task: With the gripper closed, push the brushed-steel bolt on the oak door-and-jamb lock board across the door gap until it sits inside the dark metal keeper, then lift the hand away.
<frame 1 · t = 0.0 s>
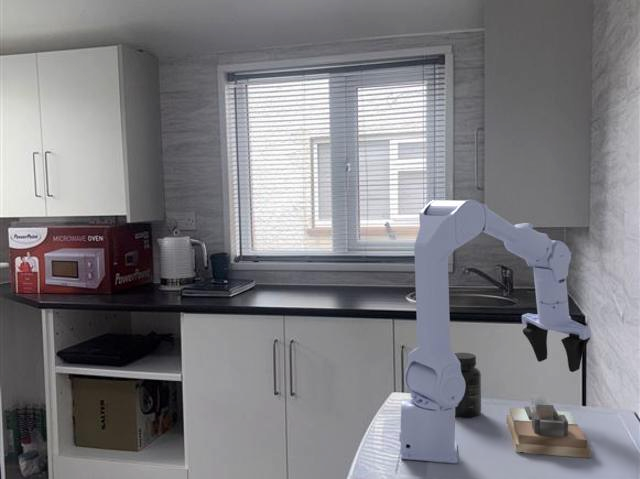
hand: (558, 364, 112), 11 cm above the table, tool pointing down, fingers open, 7 cm apart
bolt: (542, 407, 106), point 5 cm above the table, slide at 0.0 cm
supplement bottle: (463, 413, 115), on the table
lock board: (545, 438, 103), on the table
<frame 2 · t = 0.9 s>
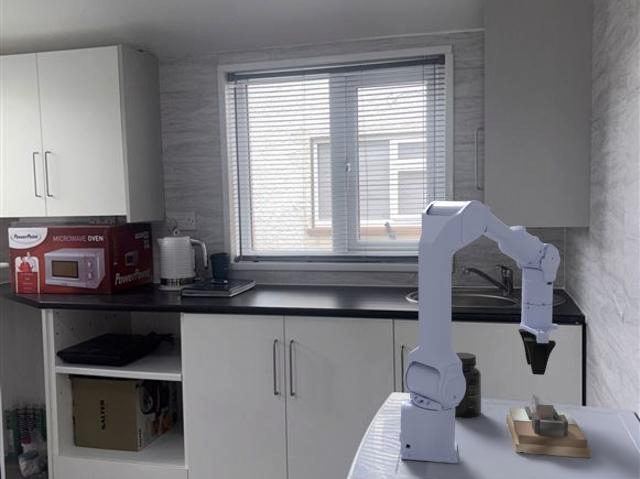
hand: (535, 369, 113), 9 cm above the table, tool pointing down, fingers open, 6 cm apart
nothing on the table moved.
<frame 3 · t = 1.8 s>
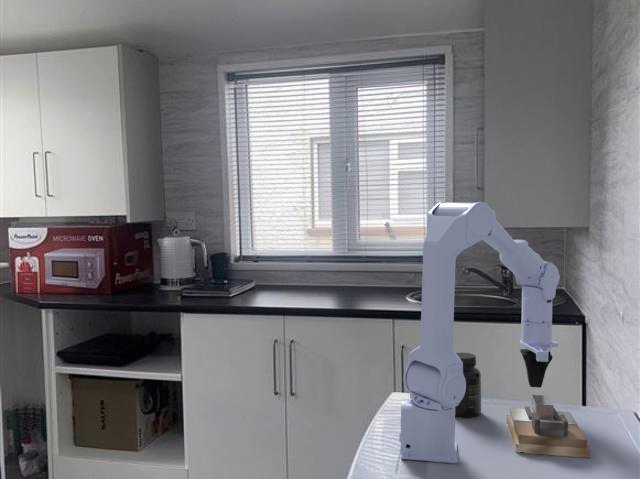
hand: (535, 386, 113), 6 cm above the table, tool pointing down, fingers closed
nothing on the table moved.
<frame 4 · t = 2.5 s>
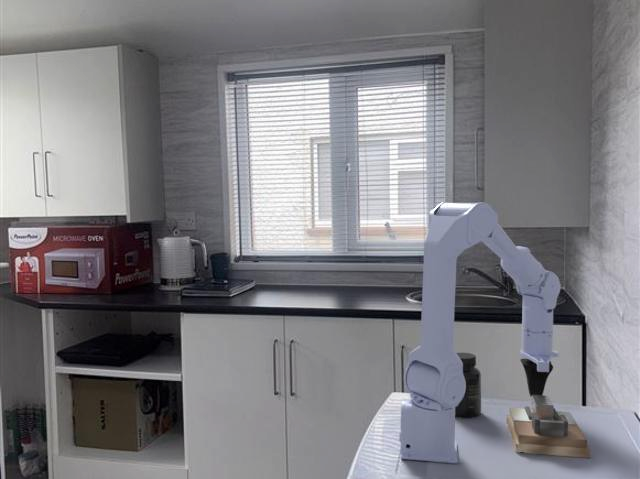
hand: (535, 396, 112), 4 cm above the table, tool pointing down, fingers closed
nothing on the table moved.
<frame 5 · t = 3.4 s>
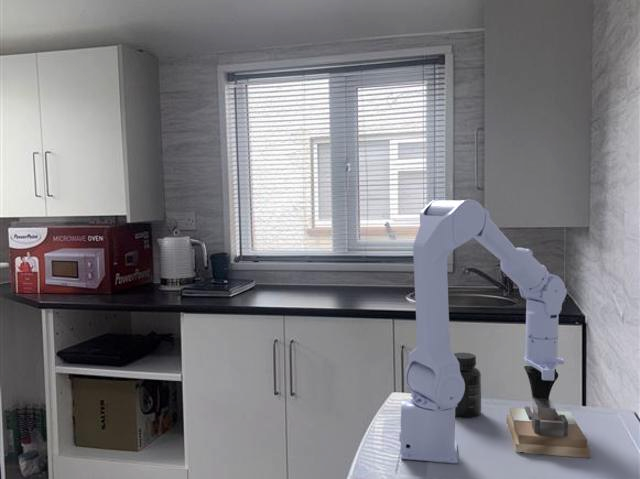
hand: (540, 405, 108), 4 cm above the table, tool pointing down, fingers closed
bolt: (543, 410, 104), point 5 cm above the table, slide at 1.6 cm, touching gripper
everything else where it was.
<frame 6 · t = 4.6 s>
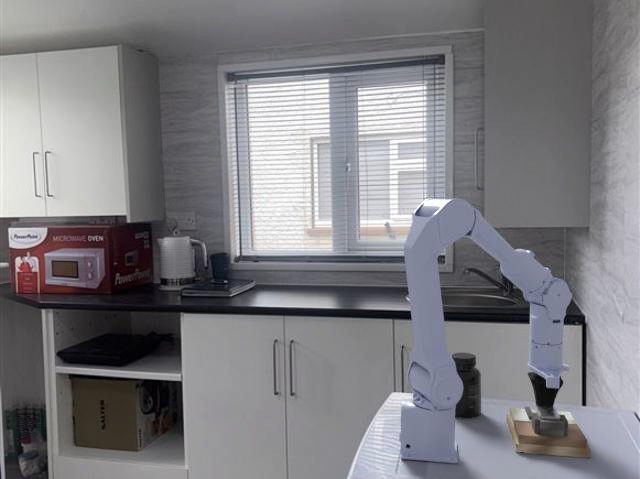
hand: (544, 413, 104), 4 cm above the table, tool pointing down, fingers closed
bolt: (548, 419, 100), point 5 cm above the table, slide at 5.7 cm, touching gripper
everything else where it was.
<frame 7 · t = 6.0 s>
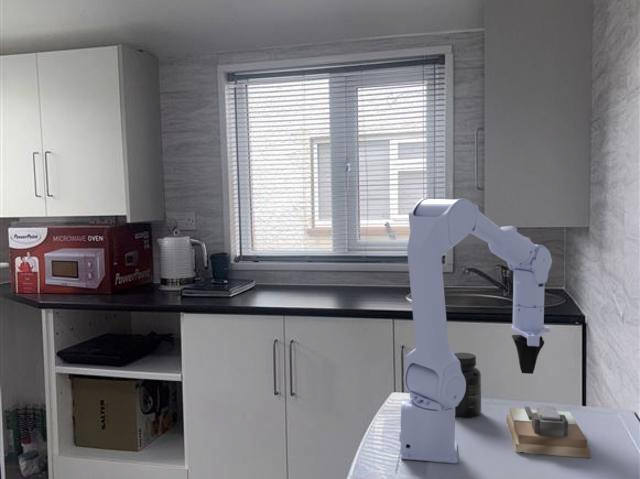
hand: (526, 372, 111), 9 cm above the table, tool pointing down, fingers closed
bolt: (548, 419, 100), point 5 cm above the table, slide at 5.7 cm
everything else where it was.
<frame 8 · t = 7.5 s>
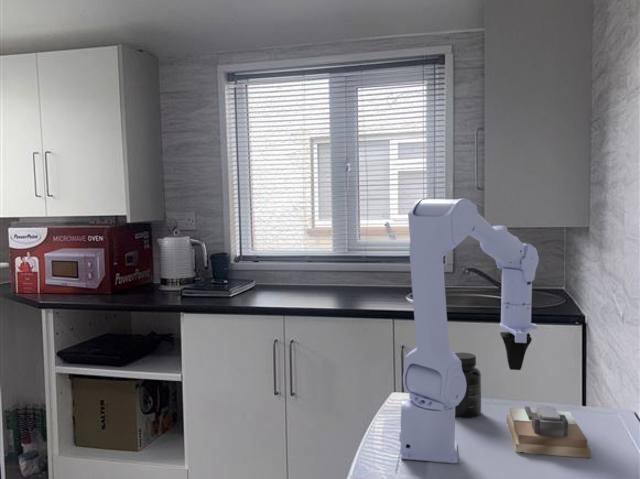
hand: (514, 368, 113), 9 cm above the table, tool pointing down, fingers closed
nothing on the table moved.
at the end: bolt slide at 5.7 cm; supplement bottle moved 0.2 cm from its start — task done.
